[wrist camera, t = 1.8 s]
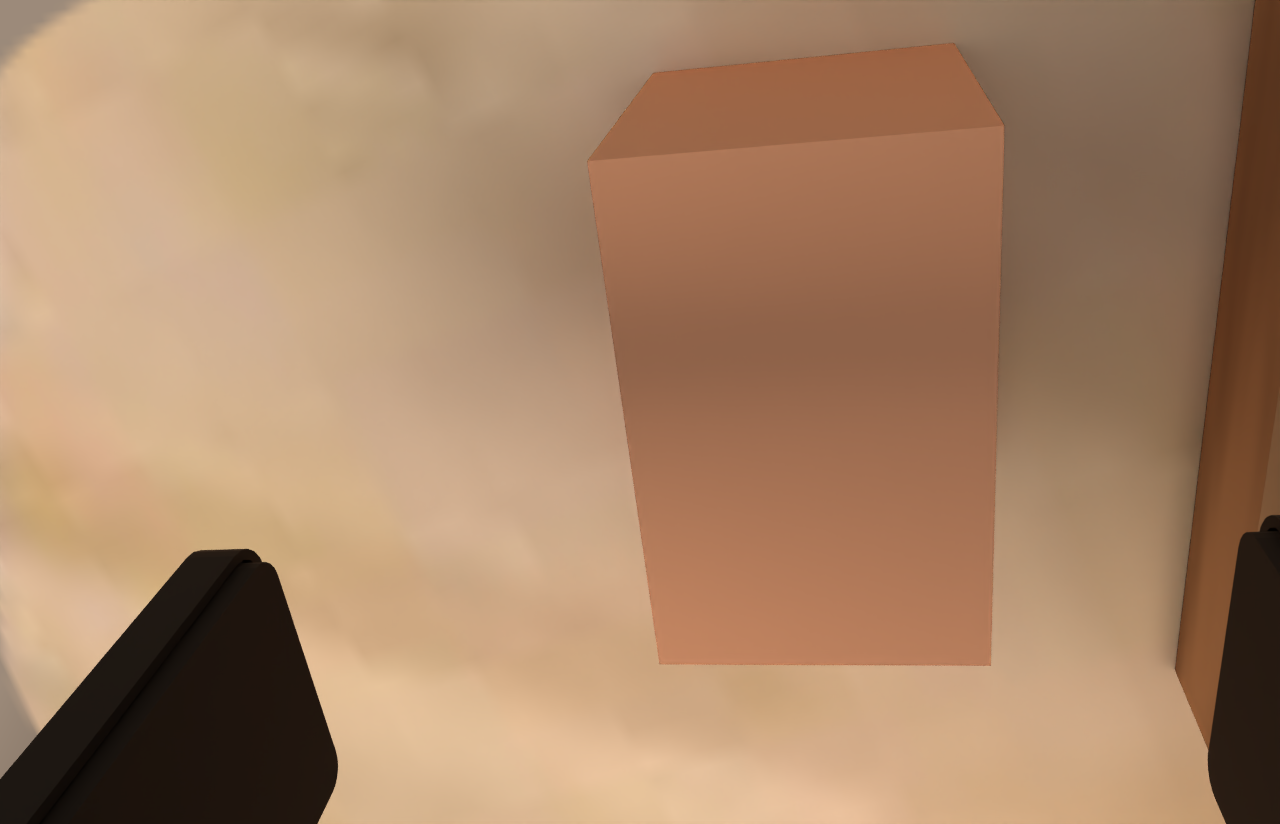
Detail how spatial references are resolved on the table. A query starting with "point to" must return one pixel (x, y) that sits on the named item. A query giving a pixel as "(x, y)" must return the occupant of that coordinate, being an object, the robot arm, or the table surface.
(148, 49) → the table surface
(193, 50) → the table surface
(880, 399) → the terracotta brick
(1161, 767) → the table surface
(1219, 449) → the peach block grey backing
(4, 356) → the table surface
